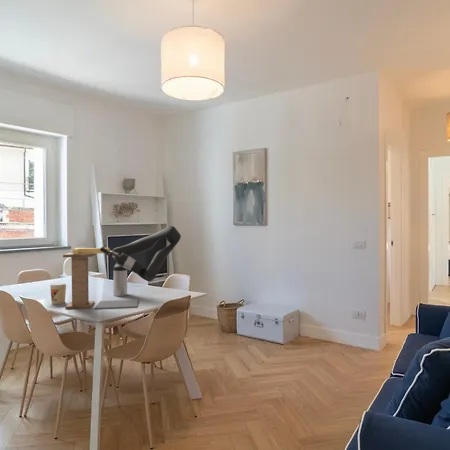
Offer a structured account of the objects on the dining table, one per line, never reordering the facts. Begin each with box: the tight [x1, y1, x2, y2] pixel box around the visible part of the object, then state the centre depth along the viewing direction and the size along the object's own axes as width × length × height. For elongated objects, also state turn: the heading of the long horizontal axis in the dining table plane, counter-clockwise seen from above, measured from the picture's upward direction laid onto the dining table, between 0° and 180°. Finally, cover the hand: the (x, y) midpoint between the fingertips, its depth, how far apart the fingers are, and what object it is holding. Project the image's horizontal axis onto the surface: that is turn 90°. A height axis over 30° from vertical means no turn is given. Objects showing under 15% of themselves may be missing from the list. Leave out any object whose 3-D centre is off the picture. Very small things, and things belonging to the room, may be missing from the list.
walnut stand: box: [62, 252, 97, 310], centre depth 237 cm, size 14×16×32 cm
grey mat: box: [94, 299, 140, 310], centre depth 240 cm, size 20×24×1 cm
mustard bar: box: [72, 247, 110, 254], centre depth 238 cm, size 10×20×3 cm, turn 99°
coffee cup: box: [49, 282, 67, 305], centre depth 247 cm, size 9×9×12 cm
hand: (101, 248), depth 239 cm, fingers open, 4 cm apart
